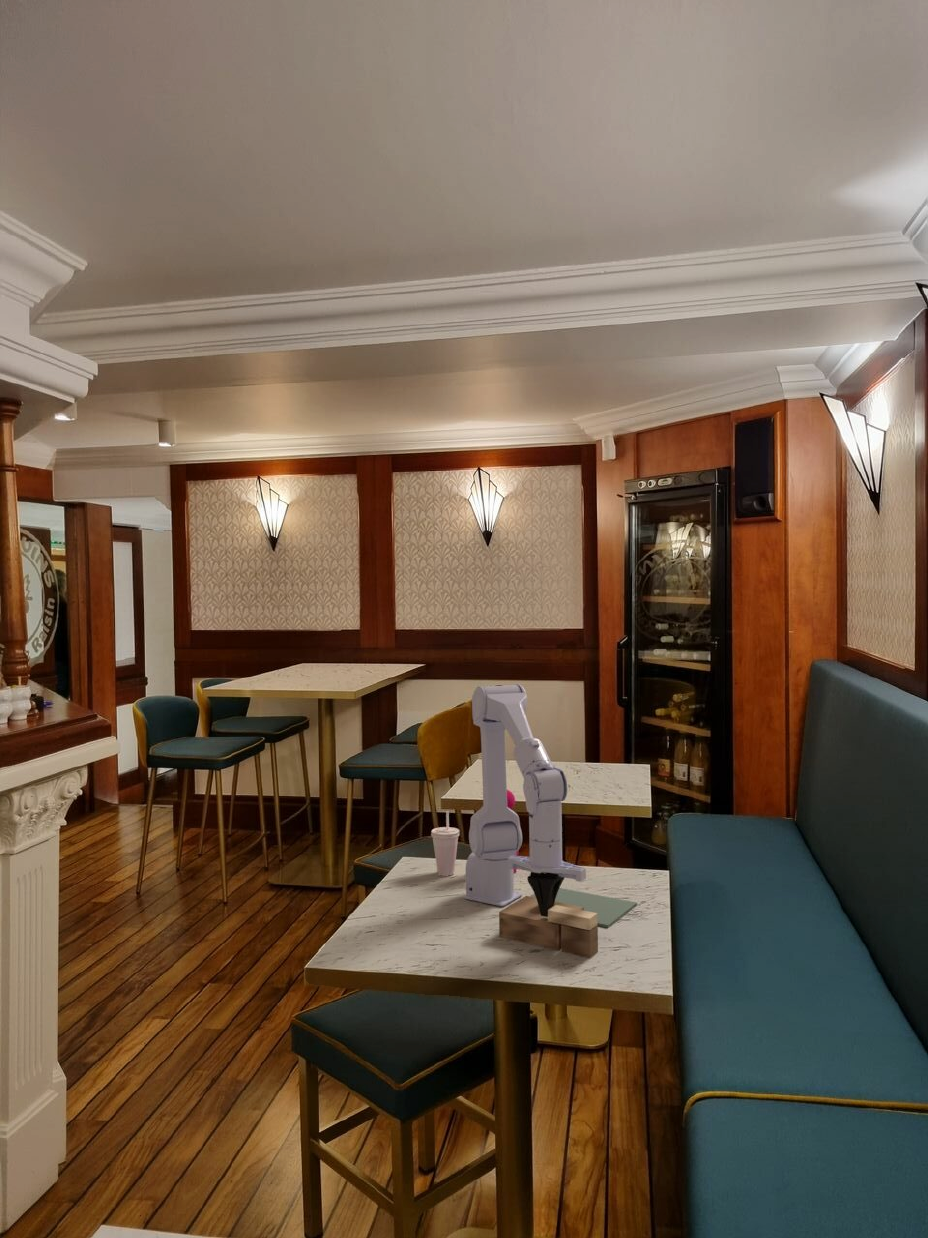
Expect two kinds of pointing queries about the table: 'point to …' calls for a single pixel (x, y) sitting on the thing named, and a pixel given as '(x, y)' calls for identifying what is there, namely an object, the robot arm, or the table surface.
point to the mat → (596, 905)
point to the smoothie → (445, 847)
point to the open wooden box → (552, 937)
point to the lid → (531, 913)
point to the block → (572, 917)
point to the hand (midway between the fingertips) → (546, 914)
